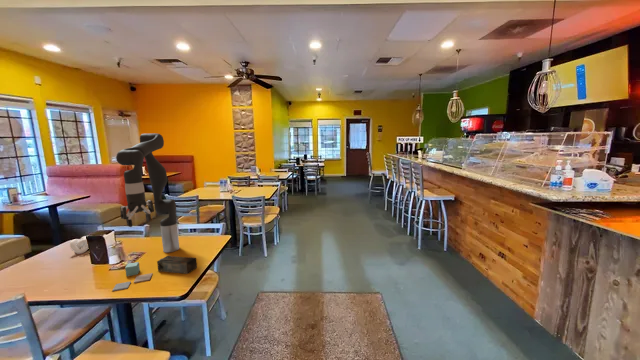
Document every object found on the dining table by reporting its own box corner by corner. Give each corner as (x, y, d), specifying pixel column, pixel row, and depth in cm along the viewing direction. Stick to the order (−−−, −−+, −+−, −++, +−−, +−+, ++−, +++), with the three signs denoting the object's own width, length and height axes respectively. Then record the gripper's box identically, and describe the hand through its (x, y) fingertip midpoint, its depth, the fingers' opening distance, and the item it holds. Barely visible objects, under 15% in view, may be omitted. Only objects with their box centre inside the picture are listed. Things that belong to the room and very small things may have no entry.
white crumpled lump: (80, 256, 168) (78, 242, 167) (64, 255, 170) (62, 241, 169) (98, 248, 179) (96, 235, 178) (83, 248, 181) (80, 235, 180)
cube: (129, 272, 146) (127, 263, 146) (139, 270, 148) (138, 261, 147) (126, 276, 142) (125, 267, 141) (137, 274, 143) (136, 265, 143)
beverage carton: (168, 265, 154) (167, 254, 153) (198, 267, 150) (197, 256, 149) (157, 271, 146) (156, 260, 145) (188, 274, 142) (187, 263, 141)
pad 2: (137, 276, 141) (137, 275, 141) (152, 274, 143) (152, 273, 143) (133, 283, 134) (133, 282, 134) (149, 280, 137) (149, 279, 137)
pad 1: (116, 285, 133) (116, 283, 133) (130, 282, 135) (130, 281, 135) (112, 291, 128) (112, 290, 128) (127, 288, 130) (127, 287, 130)
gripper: (145, 188, 138) (149, 218, 141) (114, 194, 125) (119, 227, 128) (154, 189, 135) (158, 220, 137) (123, 195, 122) (128, 229, 125)
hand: (139, 223), depth 133 cm, fingers open, 8 cm apart
